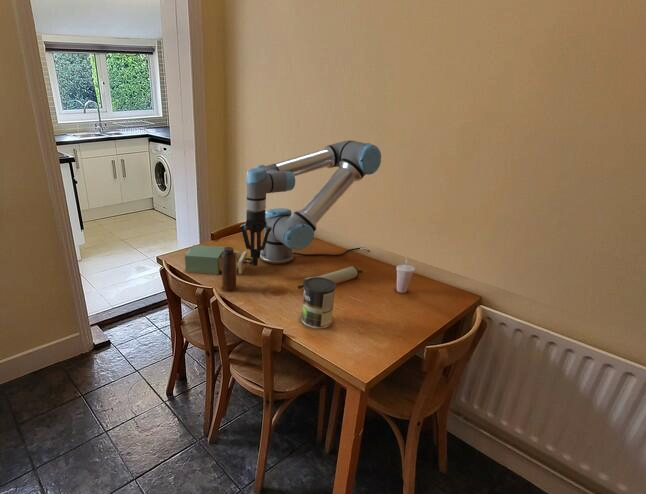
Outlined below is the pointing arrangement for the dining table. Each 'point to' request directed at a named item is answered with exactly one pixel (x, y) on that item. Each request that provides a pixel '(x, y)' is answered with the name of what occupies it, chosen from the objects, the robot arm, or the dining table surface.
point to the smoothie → (404, 276)
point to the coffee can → (318, 302)
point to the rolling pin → (339, 275)
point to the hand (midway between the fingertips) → (255, 264)
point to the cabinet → (203, 259)
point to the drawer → (238, 261)
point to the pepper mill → (229, 269)
